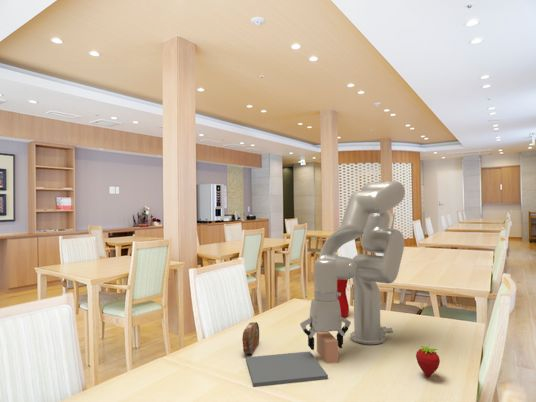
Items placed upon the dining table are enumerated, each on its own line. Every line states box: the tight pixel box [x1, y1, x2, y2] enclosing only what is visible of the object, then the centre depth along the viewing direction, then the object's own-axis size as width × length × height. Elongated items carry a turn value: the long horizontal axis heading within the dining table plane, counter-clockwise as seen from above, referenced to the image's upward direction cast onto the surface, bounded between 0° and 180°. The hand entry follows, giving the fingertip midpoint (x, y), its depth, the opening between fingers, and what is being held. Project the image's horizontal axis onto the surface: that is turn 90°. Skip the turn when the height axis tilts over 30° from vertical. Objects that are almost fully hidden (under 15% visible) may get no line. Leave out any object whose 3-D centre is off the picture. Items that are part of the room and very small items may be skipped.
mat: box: [245, 350, 329, 387], centre depth 117 cm, size 22×18×1 cm
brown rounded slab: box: [241, 321, 260, 355], centre depth 133 cm, size 15×3×8 cm, turn 168°
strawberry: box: [415, 343, 441, 378], centre depth 110 cm, size 6×8×10 cm
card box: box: [316, 331, 339, 364], centre depth 125 cm, size 4×10×7 cm, turn 10°
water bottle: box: [337, 279, 352, 318], centre depth 169 cm, size 9×11×25 cm
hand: (325, 347), depth 125 cm, fingers open, 9 cm apart
